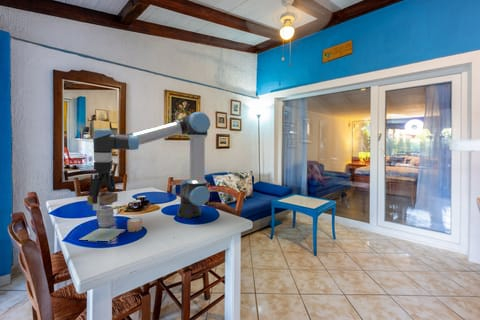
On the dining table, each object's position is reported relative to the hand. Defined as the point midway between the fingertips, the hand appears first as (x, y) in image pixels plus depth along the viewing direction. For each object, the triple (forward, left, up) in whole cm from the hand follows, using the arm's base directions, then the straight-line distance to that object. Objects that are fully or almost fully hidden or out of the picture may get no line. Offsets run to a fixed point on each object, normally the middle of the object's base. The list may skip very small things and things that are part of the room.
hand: (103, 207), depth 108 cm
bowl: (-11, -9, -14) cm, 20 cm away
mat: (0, 0, -14) cm, 14 cm away
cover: (0, 0, +2) cm, 2 cm away
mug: (+9, -14, -14) cm, 22 cm away
